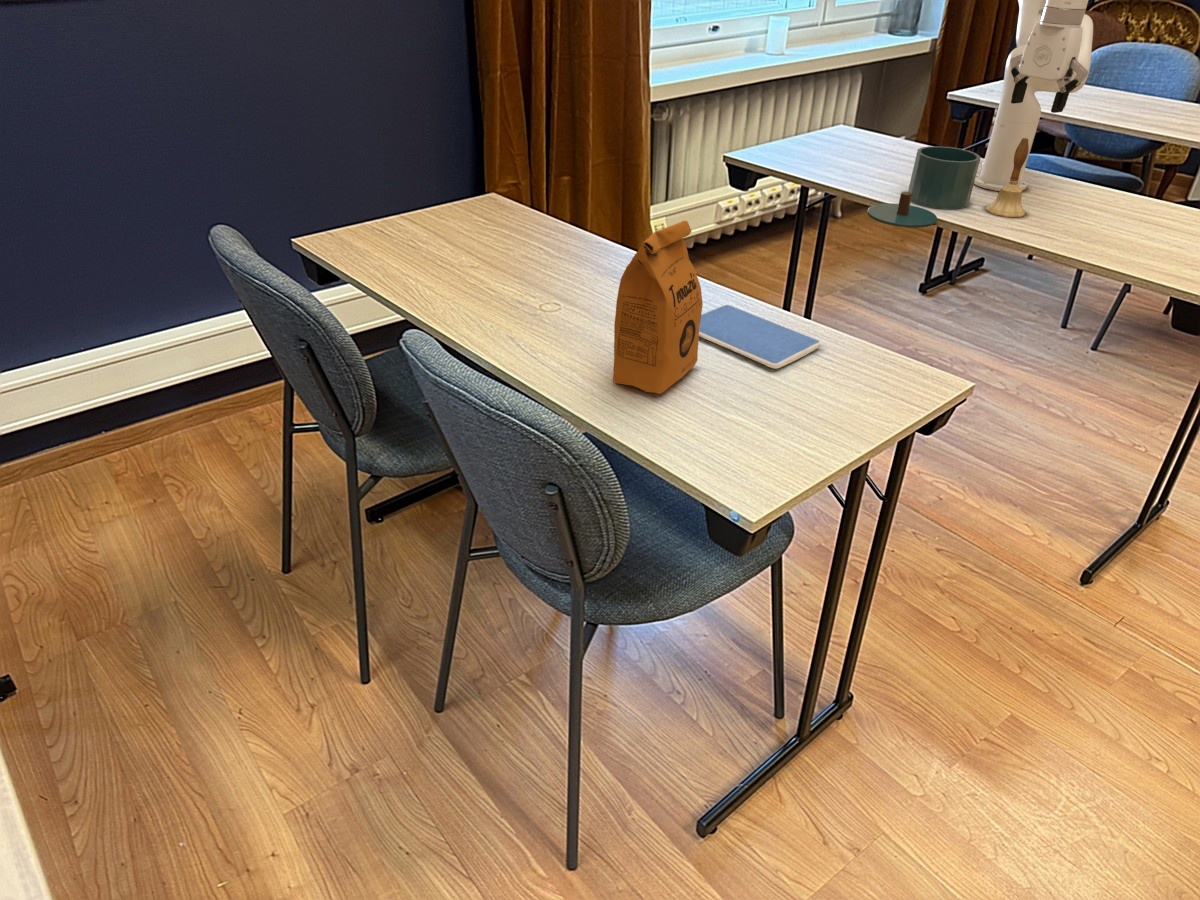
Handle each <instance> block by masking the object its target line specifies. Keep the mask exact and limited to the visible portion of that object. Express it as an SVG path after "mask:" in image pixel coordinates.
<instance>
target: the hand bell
mask: <svg viewBox="0 0 1200 900" xmlns="http://www.w3.org/2000/svg"><path fill="white" fill-rule="evenodd" d="M1028 149H1029V147H1028V139H1027V138H1022V140H1021V142H1020V144H1019V145H1018V147H1017V149H1016V151H1015V155H1014V168H1013V172H1012V175H1011V178H1010V182H1009V184H1007V185H1004V186H1002V187H1001V189H1000V191H998V192H999V193H998V194H997V196H996V197H995V199H994V200H993V201H992V202H991V203H990V204H988V205H987V206H986V207H985V211H987V212H988V213H990V214H991V215H995V216H998V217H999V216H1000V217H1005V218H1021V217H1024V216H1025V215H1026V210H1025V209H1024V207H1023V204H1022V198H1023V197H1022V195H1023V191H1022V188H1021V187H1019V186H1018V185H1017V184H1018V180H1019V175H1020V171H1021V168H1022V166H1023V164H1024V162H1025V160H1026V158H1027V155H1028Z"/></svg>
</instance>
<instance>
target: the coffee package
mask: <svg viewBox="0 0 1200 900" xmlns="http://www.w3.org/2000/svg"><path fill="white" fill-rule="evenodd" d="M691 233H692V229H691V226H690V223H689V221H688V220H682V221H680V222H677V223H675V224H672V225H669V226H667V227H664V228H661V229H659V230H658V229H657V230H655V231H654V232H653V233H652V234H650V235H649V236H648V237H647V238H646V239H645V240H643V242H641V245H640V246H639V248H638V250H637V251H636V253H635V254H634V256H633V257H632V258H631V260H630V261H629V263H628V264H627V265H626V267H625V269H624V271H623V273H622V276H621V277H620V281H619V286H618V290H617V291H618V292H617V296H616V297H617V298H616V303H615V304H616V305H615V316H614V323H613V324H614V332H613V333H614V335H613V339H614V341H613V369H612V370H613V372H612V373H613V376H612V381H613V382H614V383H616V384H618V385H623V386H633V387H635V388H637V389H639V390H641V391H643V392H646V393H653V394H663V393H664V392H665V391H667V390H668V389H670V388H671V386H673V385H674V384H675V383H677V382H678V381H679V380H681V379H682V378H683V377H684V376H685V375H686V374H687V373H688V372H690V370H692V369H693V368H694V367H695V366H696V364H697V363H698V356H699V355H698V354H699V353H698V351H699V339H700V336H699V326H700V321H701V315H702V314H703V304H704V303H703V295H702V287H701V283H700V281H699V277H698V275H697V272H696V269H695V266H694V265H693V263H692V261H691V260H690V257H689V251H688V249H687V244H686V241H685V240H684V238H686V237H688V236H689V235H690V234H691Z"/></svg>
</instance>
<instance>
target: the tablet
mask: <svg viewBox="0 0 1200 900" xmlns="http://www.w3.org/2000/svg"><path fill="white" fill-rule="evenodd" d="M699 338H702V339H704V340H707V341H709V342H712V343H714V344H716V345H718V346H720V347H722V348H725V349H728V350H729V351H732V352H735V353H737V354H739V355H742V356H743V357H746V358H748V359H750V360H753V361H755V362H757V363H759V364H762V365H763V366H766V367H768V368H771V369H780V368H782V367H784V366H786V365H789V364H791V363H794V362H795V361H797V360H799V359H801V358H803V357H805V356H807V355H809V354H811V352H814V351H816V350H817V349H819V348H820V347H821V346H822V342H821V341H820V340H819V339H816V338H813V337H812V336H809V335H806V334H803V333H801V332H798V331H795V330H793V329H791V328H788V327H785V326H784V325H780V324H778V323H777V322H776V323H775V322H772V321H770V320H768V319H766V318H763V317H760V316H758V315H755V314H753V313H750V312H748V311H745V310H743V309H740V308H738V307H735V306H732V305H730V304H724V305H721V306H719V307H717V308H715V309H711V310H709V311H707V312H704V313H701V321H700V326H699Z"/></svg>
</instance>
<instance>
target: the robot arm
mask: <svg viewBox="0 0 1200 900" xmlns="http://www.w3.org/2000/svg"><path fill="white" fill-rule="evenodd" d="M1017 2H1018V7H1019V11H1018V17H1017V26H1016V34H1015V44H1016V47H1015V48H1013V49H1012V50H1011V51H1010V53H1009V54H1008V57H1007V59H1006V62H1005V69H1004V76H1003V85H1002V88H1001V89H1002V90H1001V95H1000V99H999V104H998V108H997V111H996V114H995V115H996V116H995V120H994V123H993V126H992V130H991V133H990V137H989V141H988V144H987V149H986V151H985V156H984V160H983V161H982V162H981V171H980V173H977V174H976V178H975V181H974V185H975V186H977V187H980V188H983V189H986V190H990V191H995V192H1000V189H1001V187H1002V186H1004V185H1007V184H1009V182H1010V178H1011V175H1012V172H1013V168H1014V155H1015V151H1016V149H1017V147H1018V145H1019V144H1020V142H1021V140H1022V138H1027V139H1028V147H1029V149H1028V155H1027V158H1026V160H1025V162H1024V164H1023V166H1022V168H1021V171H1020V175H1019V180H1018V184H1017V185H1018V186H1019V187H1021V188H1022V192H1023V191H1025V190H1026V189H1027V187H1028V182H1027V181H1026V180H1025V179H1023V177H1024V173H1025V170H1026V167H1027V164H1028V160H1029V156H1030V152H1031V150H1032V147H1033V143H1034V139H1035V136H1036V133H1037V130H1038V126H1039V123H1040V119H1041V115H1042V107H1041V103H1040V102H1039V100H1038V99H1037V97H1036V92H1048V93H1055V94H1054V95H1055V96H1054V98H1053V102H1052V105H1051V110H1050V112H1051V113H1052V114H1057V113H1063V111H1064V109H1065V107H1066V105H1067V102H1068V100H1069V99H1068V98H1069V95H1070V94H1074V93H1077V92H1079V91H1080V90H1081V89H1082V88H1083V87H1084V86H1085V84H1086V82H1087V80H1088V77H1089V74H1090V70H1091V63H1092V62H1091V61H1092V50H1093V37H1094V22H1093V19H1092V18H1091V17H1090V16H1089V15H1088V14H1086V10H1087V7H1088V4H1089V0H1017Z"/></svg>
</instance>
